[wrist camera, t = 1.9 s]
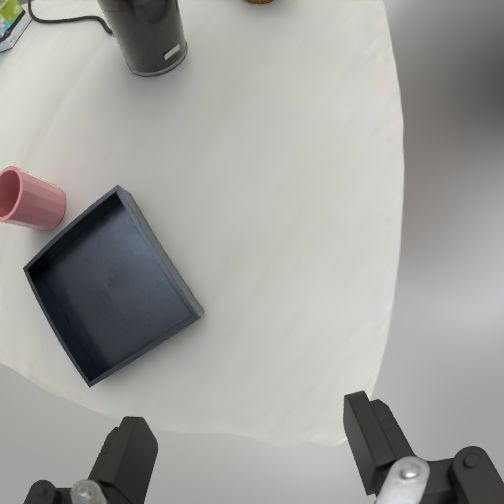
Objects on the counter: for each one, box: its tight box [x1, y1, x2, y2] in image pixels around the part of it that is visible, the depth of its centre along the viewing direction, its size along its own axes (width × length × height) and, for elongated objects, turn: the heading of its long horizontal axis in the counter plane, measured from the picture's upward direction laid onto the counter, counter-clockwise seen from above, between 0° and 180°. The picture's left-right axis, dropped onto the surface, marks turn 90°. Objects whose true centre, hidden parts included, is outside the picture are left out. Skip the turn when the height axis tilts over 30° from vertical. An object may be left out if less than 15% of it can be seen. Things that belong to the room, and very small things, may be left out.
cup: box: [0, 166, 66, 231], centre depth 28 cm, size 6×6×10 cm
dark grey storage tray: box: [23, 185, 204, 387], centre depth 31 cm, size 17×17×4 cm
